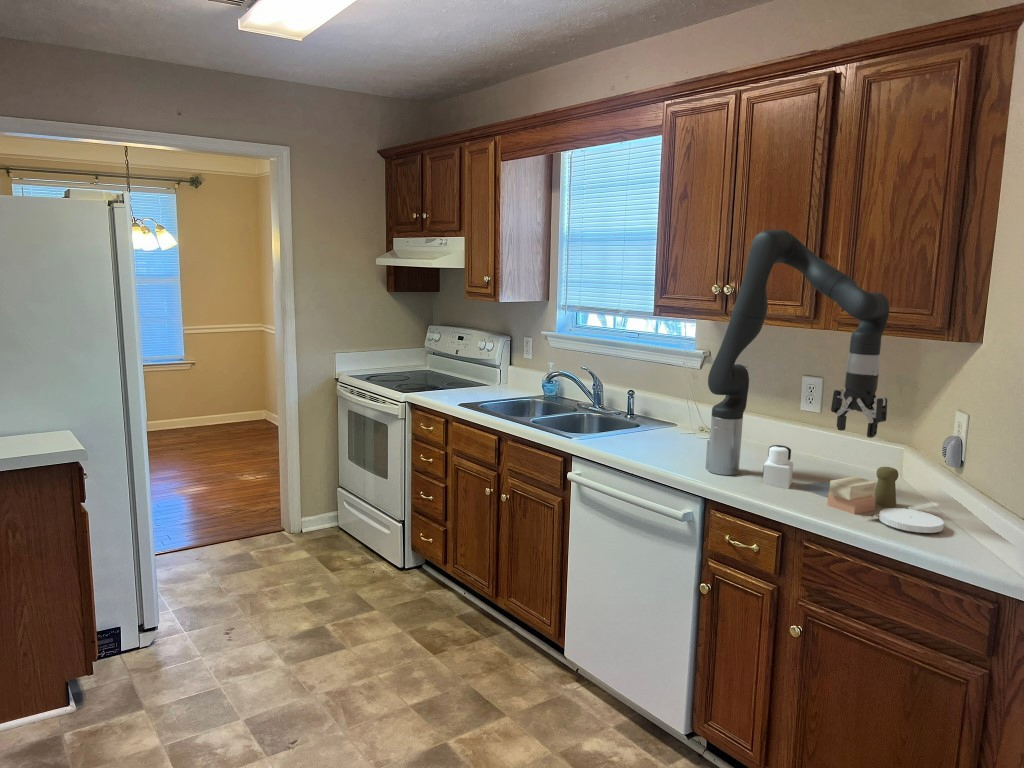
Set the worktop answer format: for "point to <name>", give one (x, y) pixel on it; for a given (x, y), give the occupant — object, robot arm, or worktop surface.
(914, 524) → the plastic lid
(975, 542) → the worktop surface
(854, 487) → the cream wooden block
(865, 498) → the pink hollow block
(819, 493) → the mat
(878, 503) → the cork
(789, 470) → the medicine bottle
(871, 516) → the worktop surface
